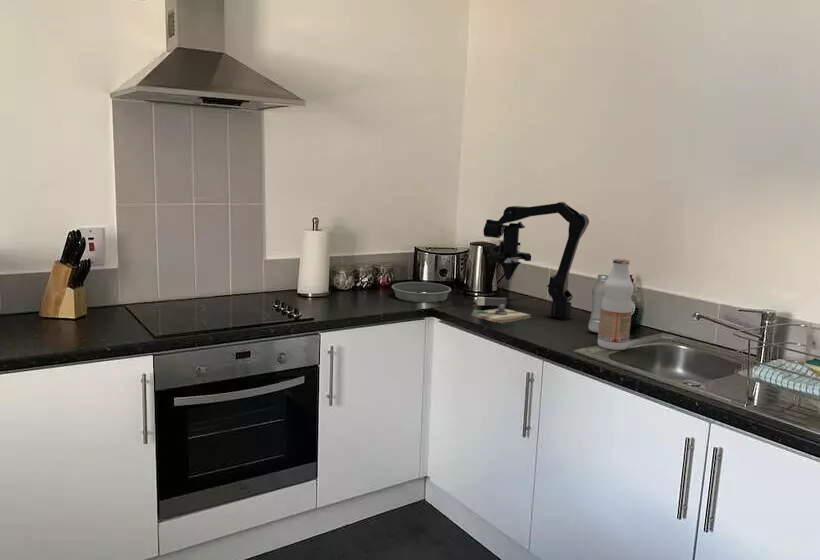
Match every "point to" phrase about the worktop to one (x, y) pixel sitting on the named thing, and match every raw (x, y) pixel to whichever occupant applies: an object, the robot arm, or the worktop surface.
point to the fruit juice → (616, 308)
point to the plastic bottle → (597, 303)
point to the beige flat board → (500, 315)
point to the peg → (493, 302)
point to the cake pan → (411, 288)
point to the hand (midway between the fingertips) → (507, 279)
